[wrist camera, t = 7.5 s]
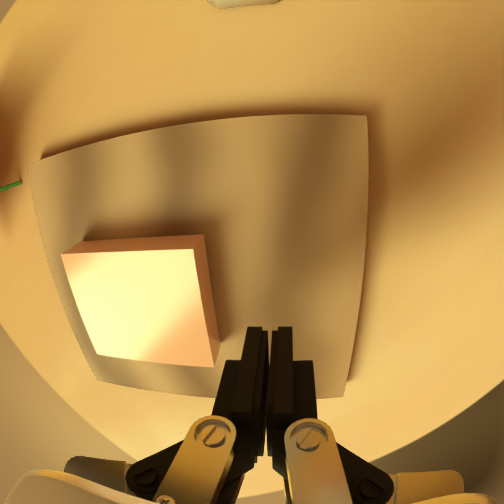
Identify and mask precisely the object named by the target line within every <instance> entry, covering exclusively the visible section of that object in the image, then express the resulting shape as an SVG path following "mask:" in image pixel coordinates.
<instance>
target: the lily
mask: <svg viewBox="0 0 504 504" xmlns="http://www.w3.org/2000/svg"><path fill="white" fill-rule="evenodd" d="M20 184H22V183H21V180H20V181H17V182H14V183H12V184H9V185H6V186H3V187H0V191H3V190H6V189H9V188H12V187H14V186H17V185H20Z"/></svg>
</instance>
